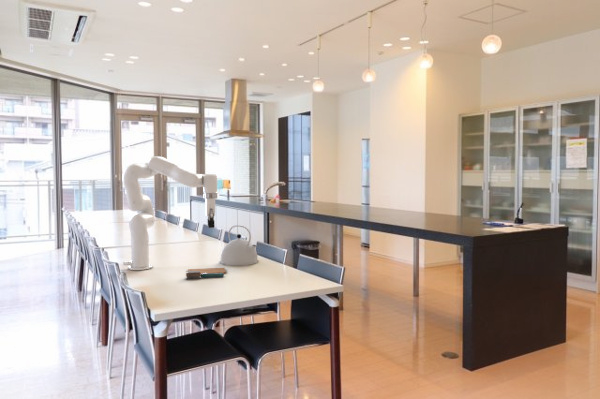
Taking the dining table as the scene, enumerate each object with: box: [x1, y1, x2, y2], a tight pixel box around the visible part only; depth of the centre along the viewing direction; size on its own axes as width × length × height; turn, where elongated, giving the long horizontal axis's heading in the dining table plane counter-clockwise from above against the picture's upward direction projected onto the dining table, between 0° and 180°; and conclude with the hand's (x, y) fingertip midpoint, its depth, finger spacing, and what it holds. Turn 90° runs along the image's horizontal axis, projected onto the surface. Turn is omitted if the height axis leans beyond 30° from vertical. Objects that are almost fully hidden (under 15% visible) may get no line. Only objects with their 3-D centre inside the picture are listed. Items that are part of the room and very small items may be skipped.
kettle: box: [220, 224, 259, 266], centre depth 281 cm, size 25×23×22 cm
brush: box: [185, 270, 225, 280], centre depth 239 cm, size 19×4×4 cm, turn 103°
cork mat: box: [187, 267, 227, 275], centre depth 253 cm, size 20×12×1 cm, turn 103°
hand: (211, 226), depth 257 cm, fingers open, 9 cm apart
